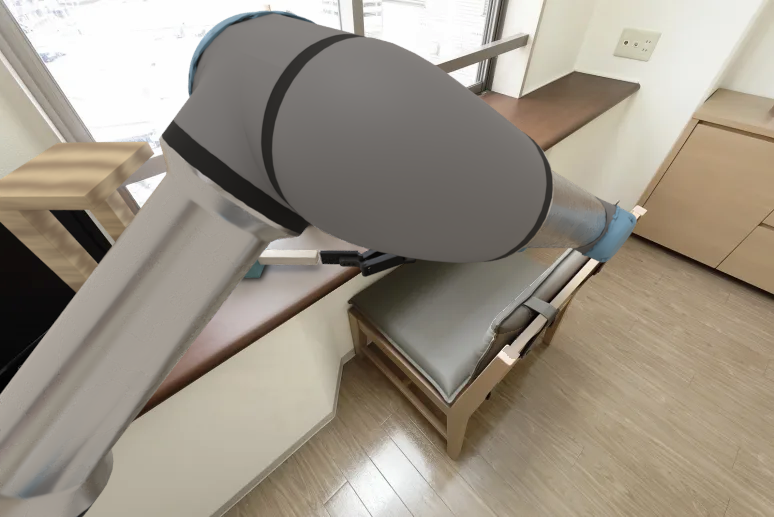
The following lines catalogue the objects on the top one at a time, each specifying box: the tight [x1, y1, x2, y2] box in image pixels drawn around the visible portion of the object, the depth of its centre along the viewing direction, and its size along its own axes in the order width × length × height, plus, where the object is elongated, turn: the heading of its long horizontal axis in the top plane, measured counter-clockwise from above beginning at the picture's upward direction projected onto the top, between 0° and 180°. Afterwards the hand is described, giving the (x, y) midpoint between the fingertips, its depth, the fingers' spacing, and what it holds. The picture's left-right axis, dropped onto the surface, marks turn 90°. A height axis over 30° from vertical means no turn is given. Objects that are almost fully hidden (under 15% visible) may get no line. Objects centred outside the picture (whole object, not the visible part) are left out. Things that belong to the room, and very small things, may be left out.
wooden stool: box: [0, 141, 155, 294], centre depth 55 cm, size 14×14×29 cm
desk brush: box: [243, 249, 321, 279], centre depth 70 cm, size 6×20×4 cm, turn 88°
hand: (327, 231), depth 64 cm, fingers open, 13 cm apart
